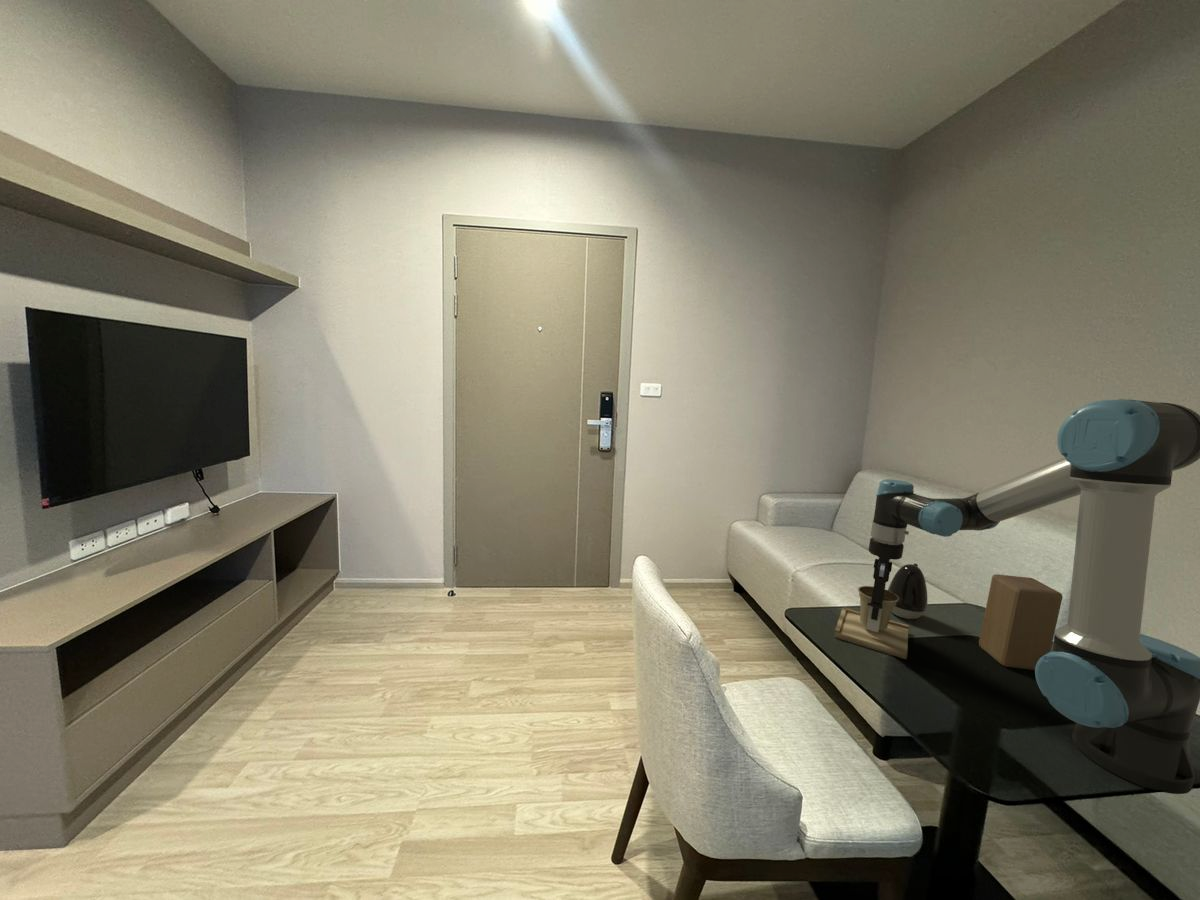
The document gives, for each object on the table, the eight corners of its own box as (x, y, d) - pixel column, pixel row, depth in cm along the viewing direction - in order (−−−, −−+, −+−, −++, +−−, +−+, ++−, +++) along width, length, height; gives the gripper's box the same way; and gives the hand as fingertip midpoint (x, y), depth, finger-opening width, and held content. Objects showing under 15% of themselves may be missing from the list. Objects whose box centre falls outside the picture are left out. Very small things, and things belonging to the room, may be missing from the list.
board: (906, 659, 120) (907, 651, 120) (834, 637, 128) (835, 629, 128) (907, 632, 133) (908, 625, 133) (841, 614, 142) (842, 607, 141)
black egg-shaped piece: (928, 616, 144) (937, 566, 142) (920, 627, 137) (929, 575, 134) (889, 603, 151) (897, 555, 149) (879, 613, 144) (887, 563, 141)
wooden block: (1017, 650, 128) (1033, 576, 125) (1047, 673, 118) (1065, 593, 115) (976, 645, 129) (990, 572, 126) (1002, 668, 119) (1019, 589, 116)
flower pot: (854, 612, 137) (858, 582, 135) (893, 622, 132) (899, 592, 131) (852, 626, 129) (856, 594, 127) (894, 637, 124) (899, 605, 123)
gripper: (903, 555, 116) (888, 645, 119) (904, 533, 134) (891, 612, 137) (867, 547, 120) (853, 635, 123) (873, 527, 138) (861, 604, 141)
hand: (873, 623), depth 130 cm, fingers closed on flower pot, 8 cm apart
